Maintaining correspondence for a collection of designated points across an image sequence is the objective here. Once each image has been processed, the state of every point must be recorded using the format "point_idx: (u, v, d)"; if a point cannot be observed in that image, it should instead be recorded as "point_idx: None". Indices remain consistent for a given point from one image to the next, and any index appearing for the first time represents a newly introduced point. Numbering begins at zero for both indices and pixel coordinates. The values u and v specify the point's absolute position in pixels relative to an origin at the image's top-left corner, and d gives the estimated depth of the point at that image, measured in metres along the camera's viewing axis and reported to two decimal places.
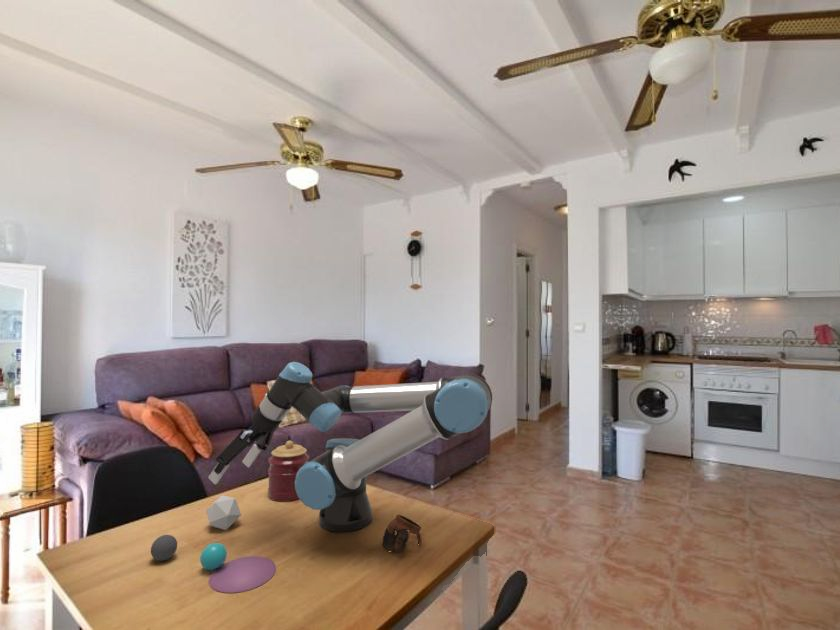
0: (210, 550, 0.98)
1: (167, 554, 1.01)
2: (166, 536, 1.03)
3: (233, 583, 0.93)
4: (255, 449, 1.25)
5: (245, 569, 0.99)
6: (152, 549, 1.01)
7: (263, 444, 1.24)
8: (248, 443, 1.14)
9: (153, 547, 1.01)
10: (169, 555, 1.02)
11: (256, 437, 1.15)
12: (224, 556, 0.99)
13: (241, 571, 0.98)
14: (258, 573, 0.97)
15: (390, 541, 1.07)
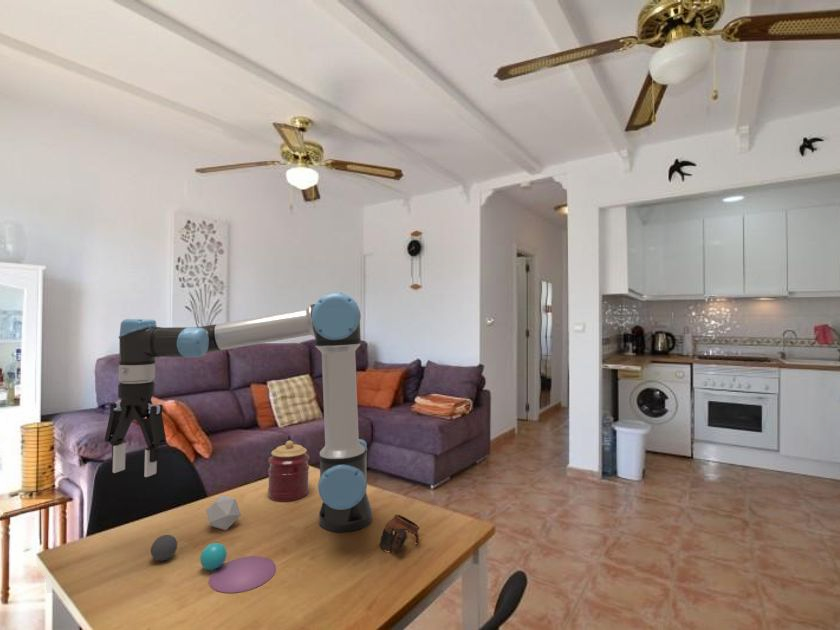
0: (210, 550, 0.98)
1: (167, 554, 1.01)
2: (166, 536, 1.03)
3: (233, 583, 0.93)
4: (120, 448, 1.07)
5: (245, 569, 0.99)
6: (152, 549, 1.01)
7: None
8: None
9: (153, 547, 1.01)
10: (169, 555, 1.02)
11: None
12: (224, 556, 0.99)
13: (241, 571, 0.98)
14: (258, 573, 0.97)
15: (388, 541, 1.08)
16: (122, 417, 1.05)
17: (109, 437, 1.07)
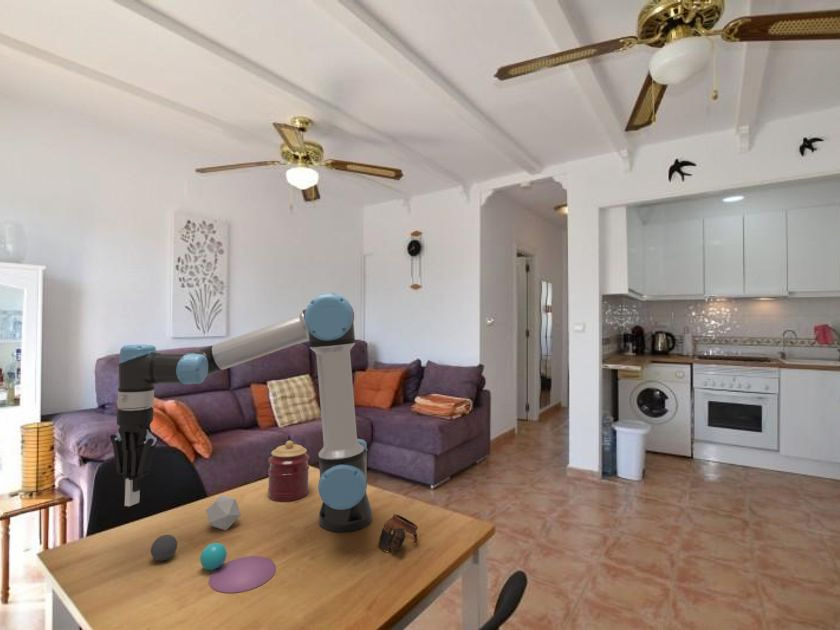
0: (210, 550, 0.98)
1: (167, 554, 1.01)
2: (166, 536, 1.03)
3: (233, 583, 0.93)
4: None
5: (245, 569, 0.99)
6: (152, 549, 1.01)
7: None
8: None
9: (153, 547, 1.01)
10: (169, 555, 1.02)
11: None
12: (224, 556, 0.99)
13: (241, 571, 0.98)
14: (258, 573, 0.97)
15: (387, 541, 1.08)
16: (124, 445, 1.05)
17: (120, 468, 1.06)
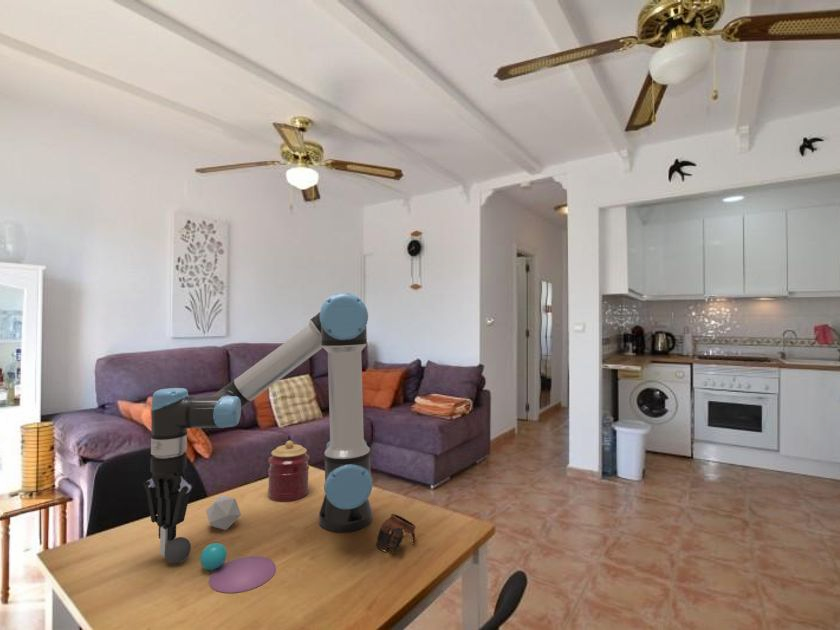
0: (210, 550, 0.98)
1: (175, 563, 1.00)
2: (186, 546, 1.01)
3: (233, 583, 0.93)
4: (167, 529, 1.03)
5: (245, 569, 0.99)
6: (169, 550, 1.00)
7: None
8: (178, 492, 1.04)
9: (171, 550, 1.00)
10: None
11: None
12: (224, 556, 0.99)
13: (241, 571, 0.98)
14: (258, 573, 0.97)
15: (385, 541, 1.08)
16: (158, 492, 1.02)
17: (155, 516, 1.03)
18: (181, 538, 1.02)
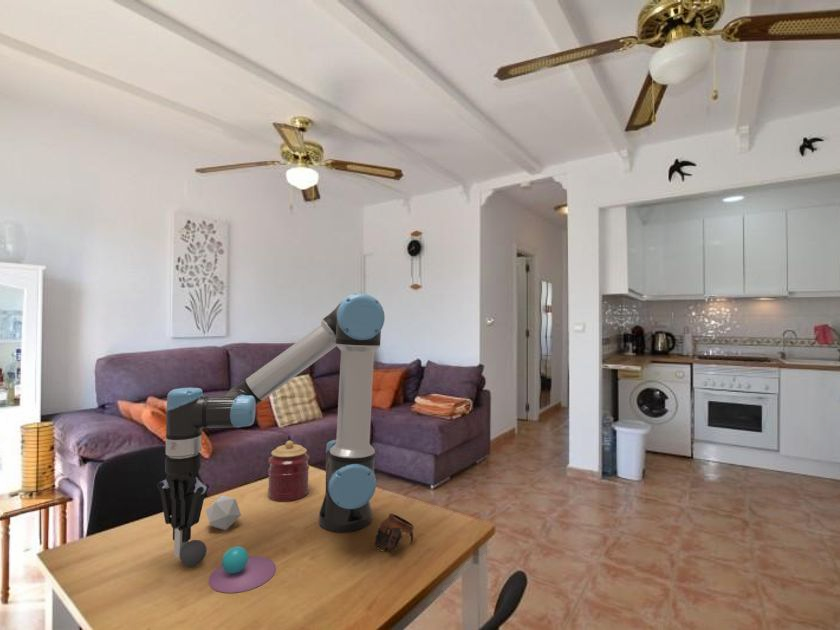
0: (237, 571, 0.96)
1: None
2: None
3: (233, 583, 0.93)
4: None
5: (245, 569, 0.99)
6: (188, 559, 0.98)
7: None
8: (193, 493, 1.03)
9: (189, 561, 0.98)
10: None
11: None
12: None
13: (241, 571, 0.98)
14: (258, 573, 0.97)
15: (383, 540, 1.08)
16: (173, 493, 1.01)
17: (169, 517, 1.02)
18: (204, 556, 1.01)
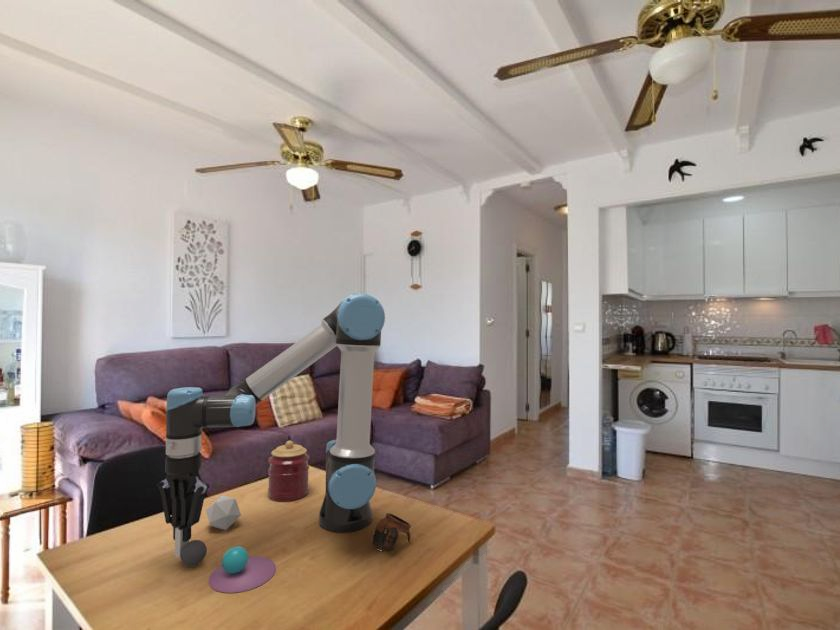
0: (237, 571, 0.96)
1: None
2: None
3: (233, 583, 0.93)
4: (182, 530, 1.02)
5: (245, 569, 0.99)
6: (189, 559, 0.98)
7: None
8: (193, 493, 1.03)
9: (189, 561, 0.98)
10: None
11: None
12: None
13: (241, 571, 0.98)
14: (258, 573, 0.97)
15: (380, 540, 1.08)
16: (173, 493, 1.01)
17: (169, 517, 1.02)
18: (204, 556, 1.01)
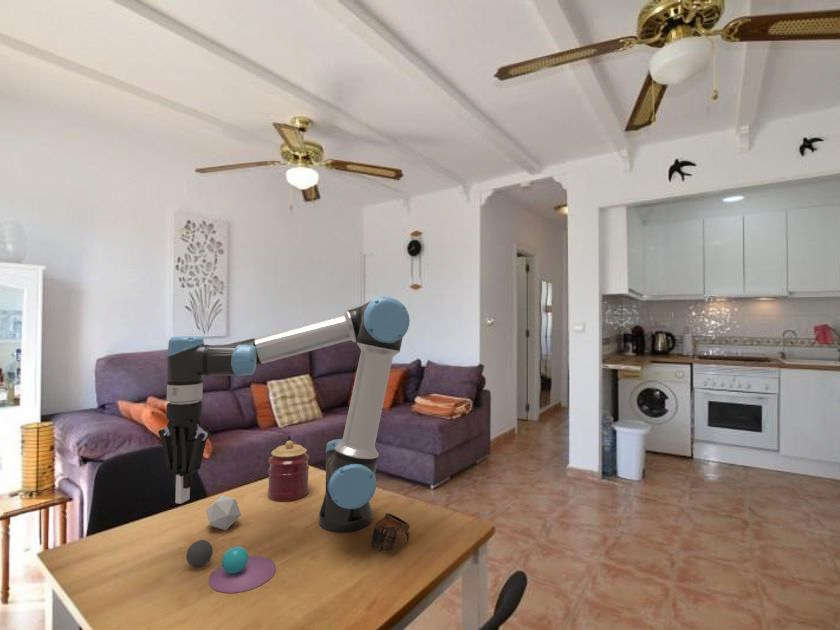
0: (237, 571, 0.96)
1: None
2: None
3: (233, 583, 0.93)
4: None
5: (245, 569, 0.99)
6: (194, 561, 0.98)
7: None
8: (194, 441, 1.03)
9: (194, 563, 0.98)
10: None
11: None
12: None
13: (241, 571, 0.98)
14: (258, 573, 0.97)
15: (379, 540, 1.08)
16: (174, 440, 1.01)
17: (170, 464, 1.02)
18: None
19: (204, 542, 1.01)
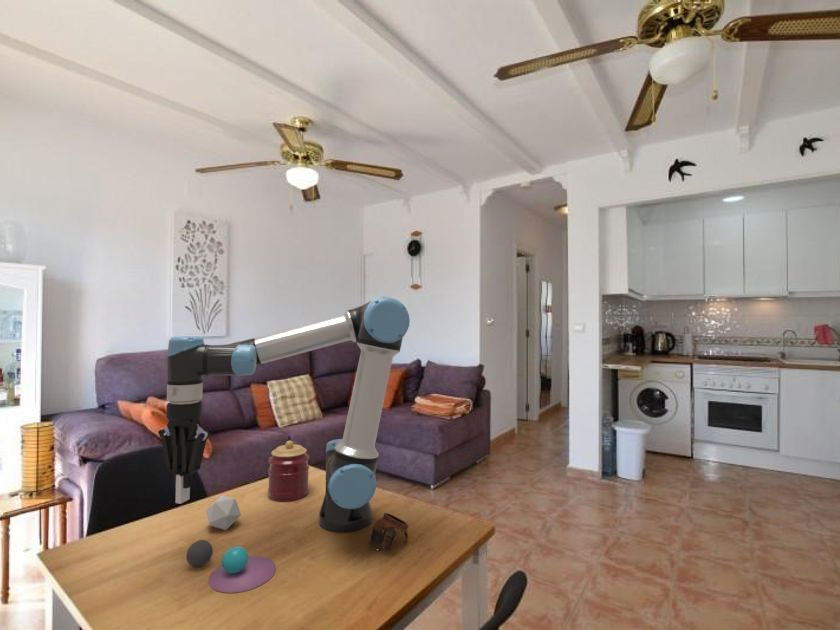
0: (237, 571, 0.96)
1: None
2: None
3: (233, 583, 0.93)
4: None
5: (245, 569, 0.99)
6: (194, 561, 0.98)
7: None
8: (194, 441, 1.03)
9: (194, 563, 0.98)
10: None
11: None
12: None
13: (241, 571, 0.98)
14: (258, 573, 0.97)
15: (378, 540, 1.08)
16: (174, 440, 1.01)
17: (170, 464, 1.02)
18: None
19: (204, 542, 1.01)
